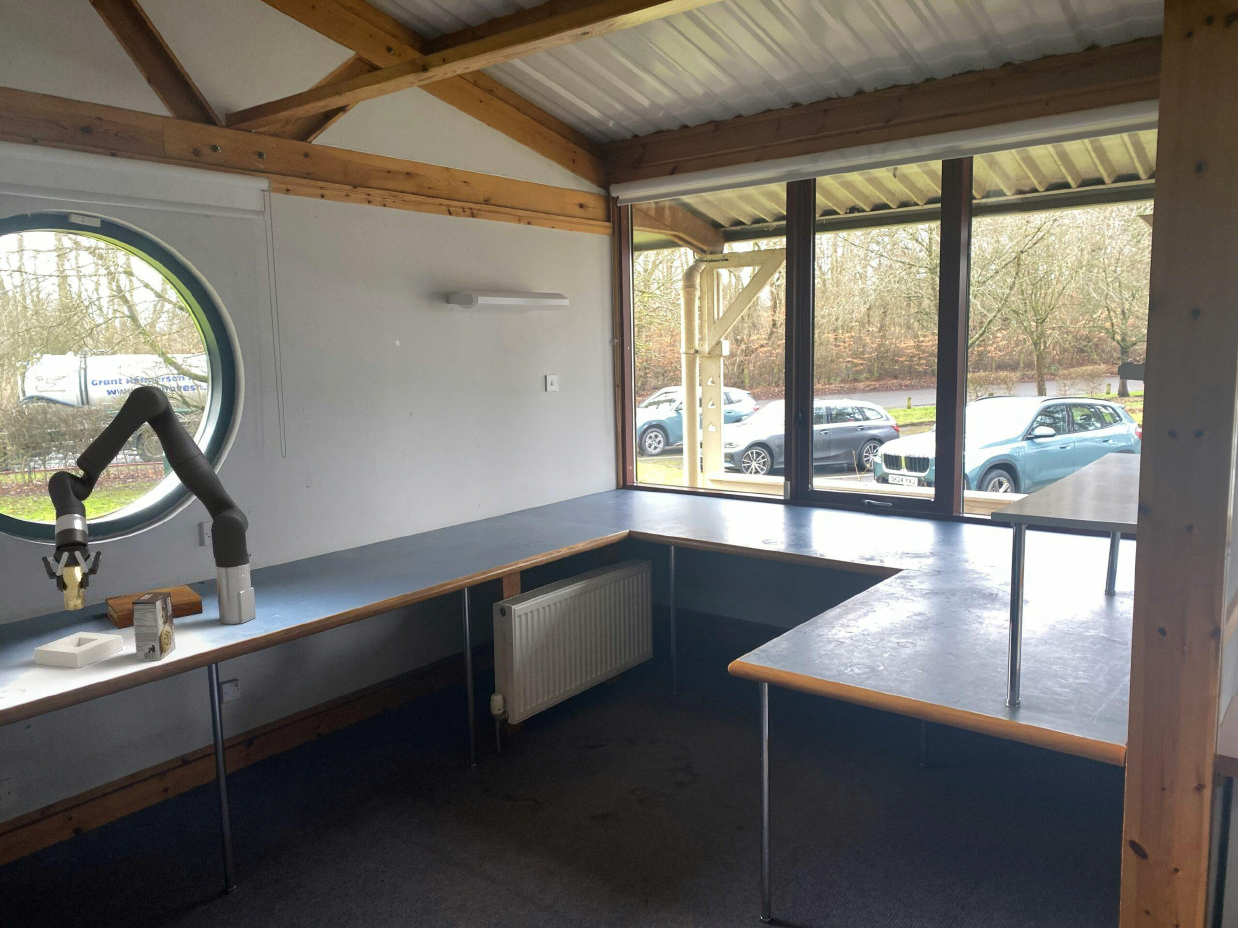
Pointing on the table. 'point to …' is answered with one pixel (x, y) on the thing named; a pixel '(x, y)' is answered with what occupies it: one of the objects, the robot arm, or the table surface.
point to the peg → (73, 587)
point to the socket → (78, 649)
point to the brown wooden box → (181, 596)
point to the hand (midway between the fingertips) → (73, 588)
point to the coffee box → (153, 626)
